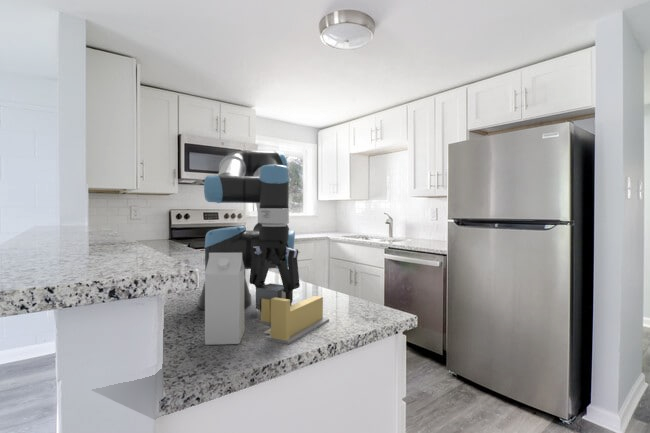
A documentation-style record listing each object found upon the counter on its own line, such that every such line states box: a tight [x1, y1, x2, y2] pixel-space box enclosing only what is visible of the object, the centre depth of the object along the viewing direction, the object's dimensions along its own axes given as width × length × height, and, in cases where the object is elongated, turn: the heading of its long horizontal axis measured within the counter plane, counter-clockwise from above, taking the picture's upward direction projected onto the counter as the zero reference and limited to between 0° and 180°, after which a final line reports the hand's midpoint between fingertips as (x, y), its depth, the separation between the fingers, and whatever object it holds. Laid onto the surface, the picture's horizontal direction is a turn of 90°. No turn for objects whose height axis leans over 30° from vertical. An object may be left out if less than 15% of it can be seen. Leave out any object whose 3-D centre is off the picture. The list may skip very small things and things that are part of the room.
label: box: [263, 328, 271, 335], centre depth 81 cm, size 3×6×1 cm, turn 151°
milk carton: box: [204, 253, 245, 346], centre depth 75 cm, size 7×7×19 cm
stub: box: [252, 298, 271, 327], centre depth 89 cm, size 6×9×6 cm, turn 151°
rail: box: [266, 295, 330, 345], centre depth 82 cm, size 6×18×9 cm, turn 151°
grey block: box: [255, 283, 292, 310], centre depth 89 cm, size 7×6×6 cm
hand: (273, 313), depth 89 cm, fingers closed on grey block, 7 cm apart
